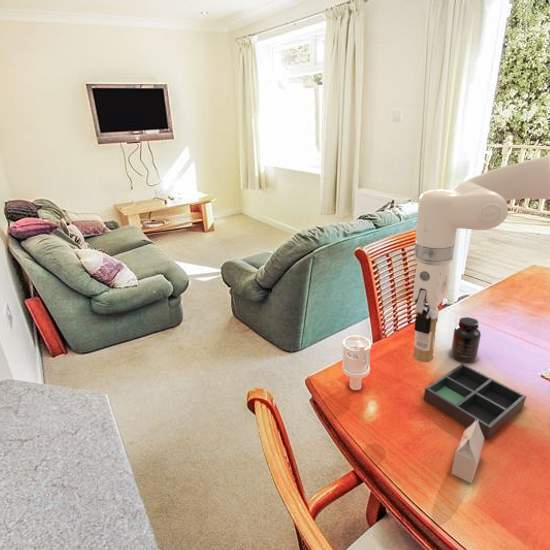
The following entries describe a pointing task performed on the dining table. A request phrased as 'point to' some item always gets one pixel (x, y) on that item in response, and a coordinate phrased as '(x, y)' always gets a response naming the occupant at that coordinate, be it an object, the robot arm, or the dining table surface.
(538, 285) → the dining table surface
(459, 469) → the white gable-top carton
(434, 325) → the sprinkles bottle
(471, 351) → the supplement bottle
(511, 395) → the rack
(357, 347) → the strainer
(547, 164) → the robot arm
